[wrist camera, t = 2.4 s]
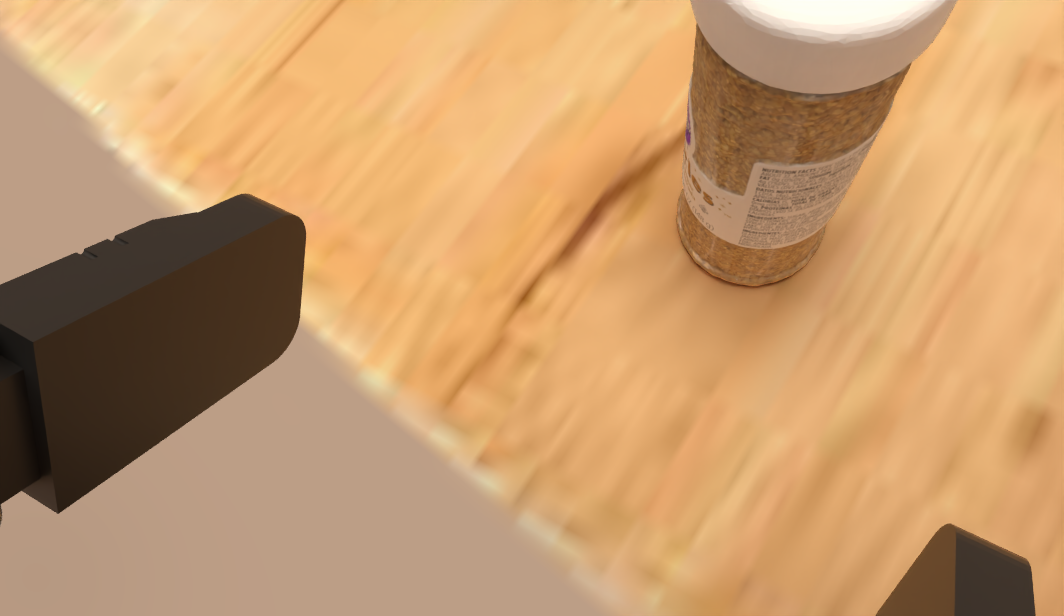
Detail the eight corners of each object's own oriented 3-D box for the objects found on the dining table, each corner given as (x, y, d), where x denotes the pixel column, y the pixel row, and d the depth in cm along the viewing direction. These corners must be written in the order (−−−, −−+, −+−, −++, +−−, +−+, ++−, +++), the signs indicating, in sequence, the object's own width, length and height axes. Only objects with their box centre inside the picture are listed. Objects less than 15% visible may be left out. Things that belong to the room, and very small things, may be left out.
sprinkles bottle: (665, 169, 27) (671, -176, 14) (808, 144, 26) (950, -238, 13) (689, 302, 25) (721, 56, 13) (840, 279, 25) (1032, -1, 12)
